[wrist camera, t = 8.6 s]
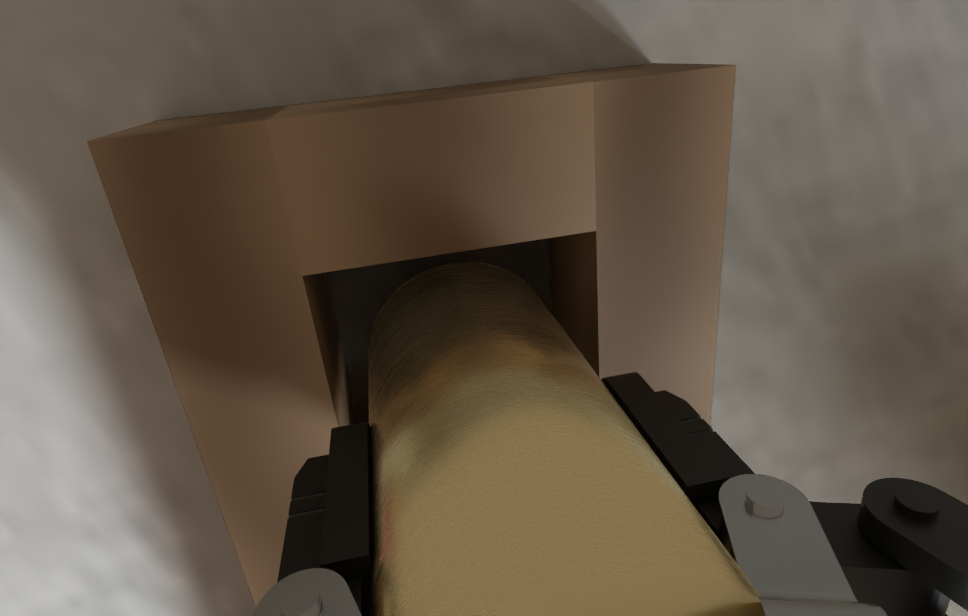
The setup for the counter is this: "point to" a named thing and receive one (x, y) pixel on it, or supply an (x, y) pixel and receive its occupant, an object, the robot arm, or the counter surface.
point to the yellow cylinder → (519, 470)
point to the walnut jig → (414, 244)
